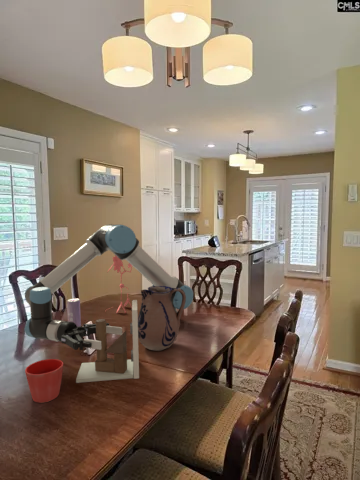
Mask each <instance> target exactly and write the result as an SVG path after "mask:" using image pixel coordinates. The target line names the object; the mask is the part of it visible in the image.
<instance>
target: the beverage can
mask: <svg viewBox="0 0 360 480" xmlns="http://www.w3.org/2000/svg"><path fill="white" fill-rule="evenodd" d="M66 310H67V321H68V322H74V323H75V324H76V326H77V327H78V326H82V321H81V300H80V298H76V297H75V298H68V299H67V302H66Z"/></svg>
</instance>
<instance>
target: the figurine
mask: <svg viewBox="0 0 360 480" xmlns="http://www.w3.org/2000/svg"><path fill="white" fill-rule="evenodd" d="M112 262H113V263H112V264H111V266H110V267H109V268H108V270H107V271H106V273H109V272H110V270H111V269H112V268H113V270H114V272H115V271H116V272H117V273H120V282H122V276H123V275H124V274H125V273H132V269H133V266H132V265H131V264H130V263H129V262H128V264H127V267H128V269H130V271H129V270H126V269H125V267H124V263H123V260H120V259H119V258H118V257H117V256H116V255H115V254H114V256H112ZM121 267H122V268H123V270H124V271H121ZM123 288H126V289H128V287H126V286H125V284H124V283H120V284H119V289H123ZM122 294H123V292H122V290H120V299H122ZM128 304H129V306H130V308H131V309H132V303H131V302H130V298H129V294H127V298H126V301H125V302H124V303H123V302H120V304H119V306H118V308H117V310H116V314H118V312H119V311H120V309H121V308H122V309H123V312H124V313H125V314H126V313H127V312H126V309H125V307H126V306H127V305H128ZM111 308H113V306H112V307H110V309H111ZM105 311H108V308H107V309H106V310H105Z"/></svg>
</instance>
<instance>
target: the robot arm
mask: <svg viewBox="0 0 360 480" xmlns="http://www.w3.org/2000/svg"><path fill="white" fill-rule="evenodd" d="M108 251H110V252H111V253H113V254H114V256H115V255H116V256H117V257H118V258H119V259H120V260H122V261H124V260H125V261H126V262H128V264H129V263H130V264H131V265H132V268H134V269H135V270H137V272H139V273H140V274H141V275H142V276H143V277H144V278H145V279H146V280H147V281H149V282H150V283H151V286H167V287H171V288H180V289H182V290H183V291H184V292H185V295H186V302H185V306H184V309H183V310H185V309H187V308H189V307H190V306H191V304H192V303H193V299H194V290H193V288H192V287H190V286H189V285H186V284H184V283H183V282H182V281H181V280H180V279H179V278H178V277H176V276H172V275H170V274H169V273H168V272H167V271H166V270H165V269H164V268H163V267H162V266H161V265H159V263H158V262H157V261H156V260H155V259H154V258H153V257H152V256H150V255H149V254H148V252H146V251H145V249H143V247H141V246H140V240H139V239H138V238H137V236H136V234H135V232H134V230H133V229H131V228H130V227H129V226H127V225H124V224H113V223H111V224H105V225H103V226H102V227H100V228H99V229H97V230H96V231H95V232H94V233H93V234H91V235H90V236H89V237H88V238H87V239H85V243H84V244H83V245H82V246H80V247H79V248H78V249H77V250H76V251H74V252H73V253H72V254H71V255H70V256H68V257H67V258H66V259H65V260H63V261H62V262H61V263H60V264H59V265H57V266H56V267H55V268H54V269H53V270H51V271H50V272H49V273H47V275H45V276H44V277H43V278H42V279H41V280H39V281H38V282H37V283H36V284H34V285H30V286H28V287H27V288H26V290H25V292H24V299H25V302H26V303H27V304H28V306H29V308H30V318H28V320H27V321H26V323H25V326H24V333H25V335H26V336H28V337H30V338H33V339H37V340H40V339H41V340H48V341H53V342H57V343H58V342H60V343H62V344H65V345H66V346H69V347H70V348H71V349H73V350H75V351H77V350H79V351H83V350H84V348H87V349H93V350H97V349H98V350H101V349H102V347H101V341H97V340H96V339H88V338H84V339H83V337H89V336H90V335H94V334H95V335H96V323H84V324H82V325H81V326H78V327H77V326H76V324H75V323H74V322H68V320H60V319H53V312H52V311H53V310H52V308H53V307H52V306H53V305H52V297H53V296H52V295H53V294H54V293H55V292H56V291H57V290H59V288H61V287H62V286H63V285H64V284H66V283H67V282H68V281H70V280H71V278H73V277H74V276H75V275H76V274H78V272H80V271H81V270H82V269H83V268H85V267H86V266H87V265H88V264H89V263H90V262H91V261H93V260H94V259H95V258H96V257H97V256H98V257H101V256H102V255H103V254H104V253H106V252H108ZM171 302H172V305H173V308H174V310H175V312H176V313H177V312H178V310H179V309H180V306H181V303H182V295H181V293H180V292H178V291H176V292H173V293H172V296H171ZM106 334H110V335H117V336H118V335H119V336H121V335H122V334H123V327H122V326H111V325H110V323H108V322H106Z"/></svg>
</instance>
